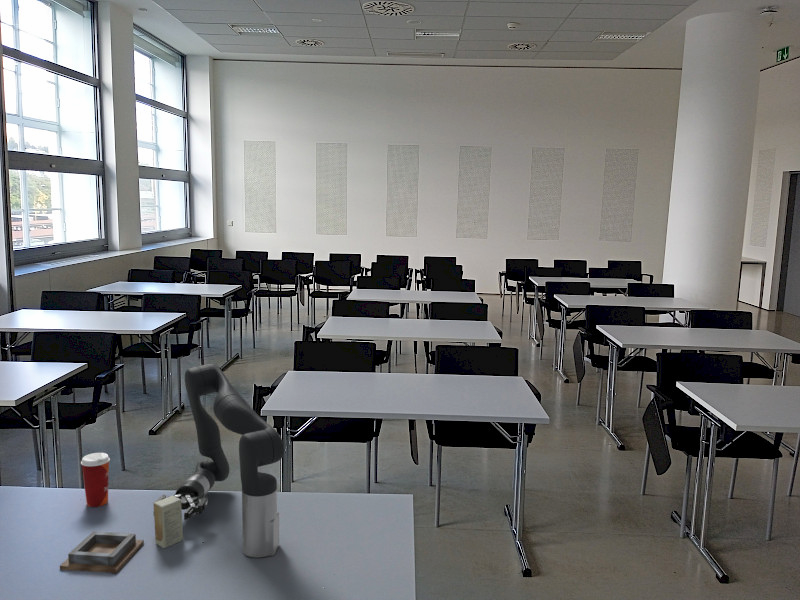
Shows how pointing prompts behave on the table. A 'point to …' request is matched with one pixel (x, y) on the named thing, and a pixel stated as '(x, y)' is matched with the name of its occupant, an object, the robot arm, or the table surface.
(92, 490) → the coffee cup
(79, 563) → the socket stand
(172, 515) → the skincare box
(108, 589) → the table surface
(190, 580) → the table surface
